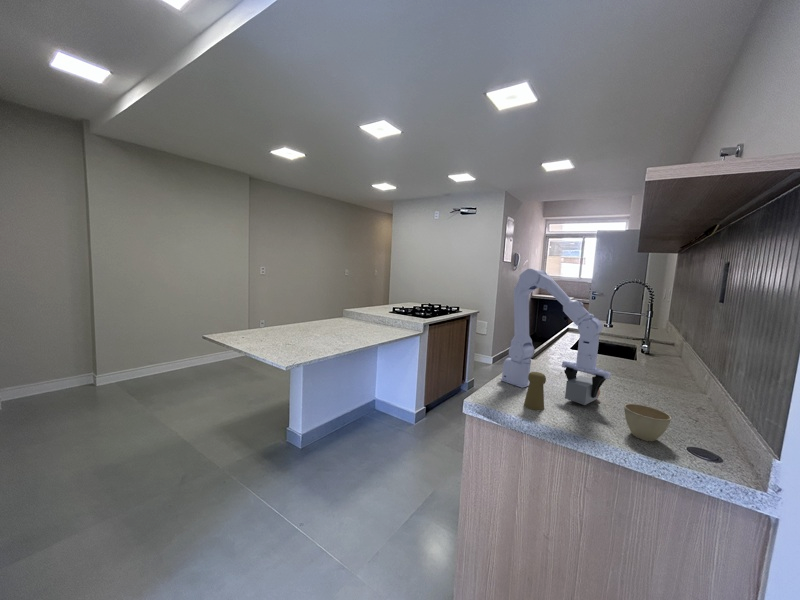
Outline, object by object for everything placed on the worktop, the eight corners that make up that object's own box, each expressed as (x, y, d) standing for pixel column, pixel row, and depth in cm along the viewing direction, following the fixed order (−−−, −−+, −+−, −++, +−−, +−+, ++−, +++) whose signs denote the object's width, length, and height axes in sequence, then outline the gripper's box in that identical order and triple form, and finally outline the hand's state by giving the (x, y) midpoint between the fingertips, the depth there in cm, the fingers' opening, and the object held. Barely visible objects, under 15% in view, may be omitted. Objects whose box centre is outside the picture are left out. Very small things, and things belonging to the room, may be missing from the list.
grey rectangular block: (564, 398, 108) (566, 380, 107) (578, 392, 114) (580, 375, 114) (584, 405, 103) (587, 387, 102) (598, 398, 109) (600, 381, 109)
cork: (547, 408, 102) (551, 374, 101) (538, 412, 98) (542, 377, 97) (530, 401, 107) (533, 368, 106) (520, 405, 103) (523, 371, 102)
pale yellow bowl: (668, 451, 80) (672, 423, 79) (620, 436, 86) (623, 410, 85) (666, 436, 88) (670, 411, 87) (622, 424, 94) (625, 400, 93)
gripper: (559, 350, 110) (555, 388, 112) (606, 361, 99) (601, 403, 100) (568, 348, 115) (564, 385, 116) (615, 358, 103) (610, 399, 105)
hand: (582, 393), depth 108 cm, fingers closed on grey rectangular block, 6 cm apart
